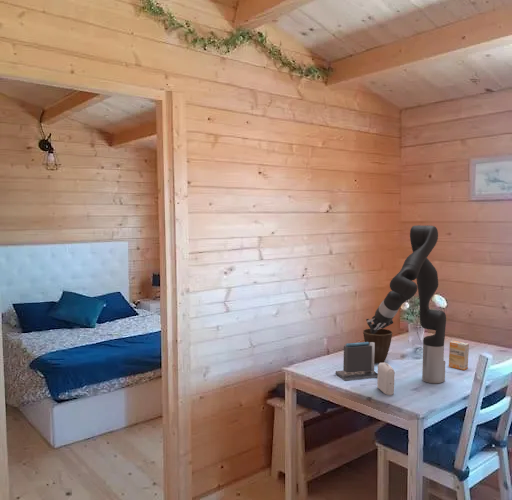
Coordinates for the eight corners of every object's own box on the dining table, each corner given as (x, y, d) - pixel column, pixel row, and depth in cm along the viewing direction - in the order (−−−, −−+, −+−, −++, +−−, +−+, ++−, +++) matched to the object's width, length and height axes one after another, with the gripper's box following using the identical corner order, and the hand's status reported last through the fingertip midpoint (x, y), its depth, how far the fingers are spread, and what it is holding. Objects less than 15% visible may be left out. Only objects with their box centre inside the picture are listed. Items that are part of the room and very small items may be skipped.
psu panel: (368, 370, 254) (368, 367, 254) (380, 377, 244) (380, 374, 244) (335, 373, 249) (335, 370, 249) (345, 380, 239) (345, 377, 239)
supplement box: (448, 367, 260) (449, 341, 259) (452, 365, 263) (453, 340, 262) (464, 370, 254) (465, 344, 253) (468, 368, 257) (469, 343, 256)
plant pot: (366, 365, 262) (367, 335, 260) (359, 357, 277) (360, 328, 275) (395, 365, 262) (396, 334, 261) (387, 357, 277) (387, 328, 276)
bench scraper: (371, 369, 251) (372, 340, 250) (375, 371, 247) (376, 342, 246) (343, 371, 247) (343, 342, 245) (347, 374, 243) (347, 344, 242)
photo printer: (395, 395, 221) (396, 367, 220) (386, 395, 220) (386, 367, 219) (384, 386, 231) (385, 360, 230) (376, 387, 230) (376, 360, 229)
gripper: (398, 302, 221) (382, 324, 233) (370, 303, 217) (356, 325, 230) (404, 316, 216) (388, 338, 228) (376, 318, 212) (361, 340, 225)
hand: (372, 332), depth 229 cm, fingers closed
